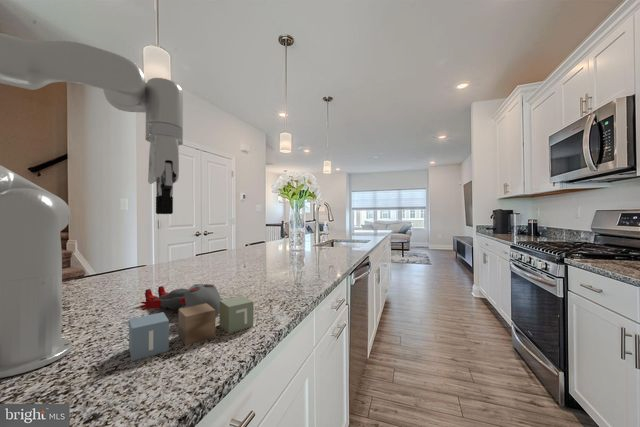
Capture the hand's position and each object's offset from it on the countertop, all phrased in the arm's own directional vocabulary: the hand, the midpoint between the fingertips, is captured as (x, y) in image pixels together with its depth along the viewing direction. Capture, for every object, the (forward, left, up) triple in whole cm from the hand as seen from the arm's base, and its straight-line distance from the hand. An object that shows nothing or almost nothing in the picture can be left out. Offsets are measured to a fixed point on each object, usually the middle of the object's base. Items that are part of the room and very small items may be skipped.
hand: (164, 213), depth 62 cm
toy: (+6, +11, -28) cm, 30 cm away
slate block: (-4, -8, -27) cm, 29 cm away
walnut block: (+5, -8, -27) cm, 29 cm away
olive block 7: (+14, -8, -27) cm, 32 cm away
